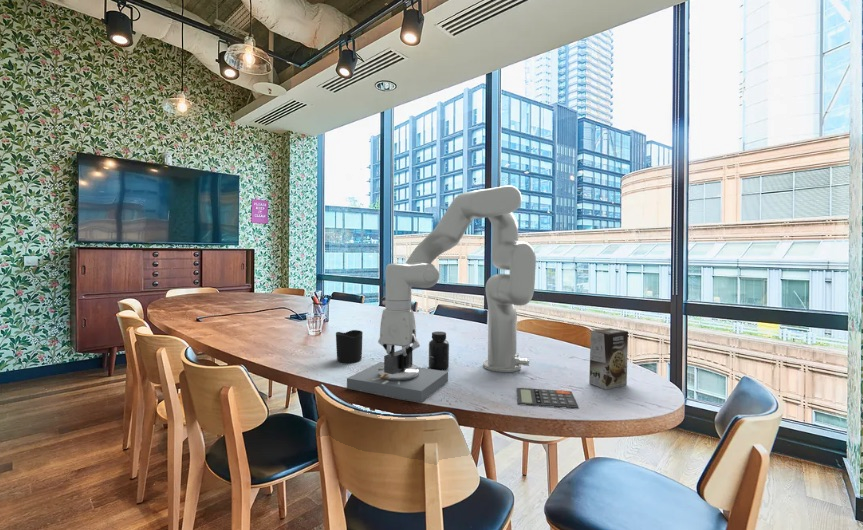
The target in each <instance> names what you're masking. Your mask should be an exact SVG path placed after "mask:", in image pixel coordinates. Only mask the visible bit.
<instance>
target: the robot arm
mask: <svg viewBox="0 0 863 530" xmlns="http://www.w3.org/2000/svg"><path fill="white" fill-rule="evenodd" d="M522 197H523V196H522V194H521V191H520V190H519V189H518V188H517V187H516V186H513V185H508V184H507V185H504V186H503V185H502V186H499V187H498V186H497V187H492V188H485V189H478V190H477V189H475V190H472V191H471V190H470V191H467V192H463V193H460V194H458V195H457V196H455V198H453V200H452V201H451V203H450V204H449V205H448V208H447V209H446V211H445V213H443V215H442V217H441V219H439V221H438V223H437V225H436V226H435V228H434V229H433V230H432V231H431V232H429V234H428V235H426V237H425V238H424V239H423V240H422V241H421V242H420V243H418V245H417V246H416V247H415V249H413V251H412V253H410V255H409V257H408V258H407V260H406V261H405V263H404V262H398V263H397V262H395V263H394V262H393V263H389V264H387V265H386V267H385V300H382V301H381V302H382V303H381V304H382V305H383V306H384V308H385V309H383V310H382V312H381V318H380V326H379V339H378V341H377V342H378V344H379V345H380V346H382V347H383V348H384V350H385V352H386V355H388V354H391V353H393V352H396V346H397V347H401V349H402V353H403V356H401V369H402V370H404V369H406V368H407V367H408V365H409V354H410V353H411V352H412V353H413V351H414V350H416V349H418V348H420V346H421V345H420V343H419V340H418V338H417V325H416V318H415V317H416V316H415V313H414V310H413V309H412V288H422V289H427V288H429V289H430V288H432V287H433V286H435V285H436V284H437V283H438V281H439V279H440V271H439V269H438V267H436V265H434V264H432V263H433V262H434V260H436V259H437V258H438V257H439V256H441V255H442V254H443V253H446V252H447V251H449V250H451V249H452V248H455V247H456V246H457V245H458V244H459V242H460V240H461V239H462V237H463V236H464V235H465V232H466V231H467V230H468V228H469V226H470V225H471V223H472V222H473V220H477V219H484V218H487V219H488V220H489V222H490V223H491V227H492V230H491V231H492V237H491V238H492V239H491V263H492V266H494V267H495V268H496V269H498V270H504V271H509V274H506V273H497V274H493V275H491V276H490V277H489V278H488V279H487V281H486V283H485V295H486V301H487V316H488V317H487V319H488V320H487V324H488V325H487V359H486V360H484V361H483V364H482V366H483V368H484V369H486V370H487V371H491V372H495V373H514V372H517V371H519V370H520V371H521V368H522V366H526V367H529V366H530V360H529V359H528V358H523V357H521V356H519V354H520V353H518V352H517V340H518V339H517V338H518V337H517V336H518V335H517V333H518V331H517V329H518V325H517V324H518V321H517V319H518V315H517V309H516V306H519V307H521V306H526V305H527V304H529V303H530V302H531V301H532V298H533V297H534V293H535V284H536V267H537V265H536V263H537V256H536V253H535V250H534V248H533V246H532V245H531V244H529V242H526V241H521V240H520V241H519V224H518V220H517V219H516V217H515V215H514V212H516V211H517V210H518V209H519V208H520V206H521V205H522V200H523V198H522ZM411 344H412V345H411Z"/></svg>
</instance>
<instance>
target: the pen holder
mask: <svg viewBox="0 0 863 530" xmlns="http://www.w3.org/2000/svg"><path fill="white" fill-rule="evenodd" d="M335 343H336V344H335V347H336V348H335V349H336V361H337V362H339V363H342V364H354V363H359V362H360V361H361V360H362V357H363V331H362V330H358V329H352V330H349V331H347V332H341V331H337V332H335Z"/></svg>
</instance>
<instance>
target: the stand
mask: <svg viewBox="0 0 863 530" xmlns="http://www.w3.org/2000/svg"><path fill="white" fill-rule="evenodd" d="M383 365H384V361H380V362H378V363H376V364H373V365H371V366H369V367H367V368H365V369H362V370H361V371H359V372H357V373H355V374H353V375H351V376H348V377H346V389H348V390H353V391H357V392H358V391H359V392H365V393H370V394H374V393H376V394H375V395H379V394H381V396H385V395H387V396H386V397H390V396H391V398H396V397H397V398H396V399H401V400H406V399H407V400H408V401H412V400H413V402H418V403H423V402H424V401H425V400H426V399H427V398H429V397H430V396H432V395H433V394H434V393H436V390H437V391H438V390H439V389H440V388H442V387H443V386H445V385H446V384H447V383H448V382H449V371H446V370H443V371H440V370H433V369H430V368H425V367H419V375H418V376H417V377H415V378H413V379H409V380H401V381H393V380H386V379H382V378H380V377H379V376H378V369H379V368H380V367H381V366H383Z"/></svg>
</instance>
